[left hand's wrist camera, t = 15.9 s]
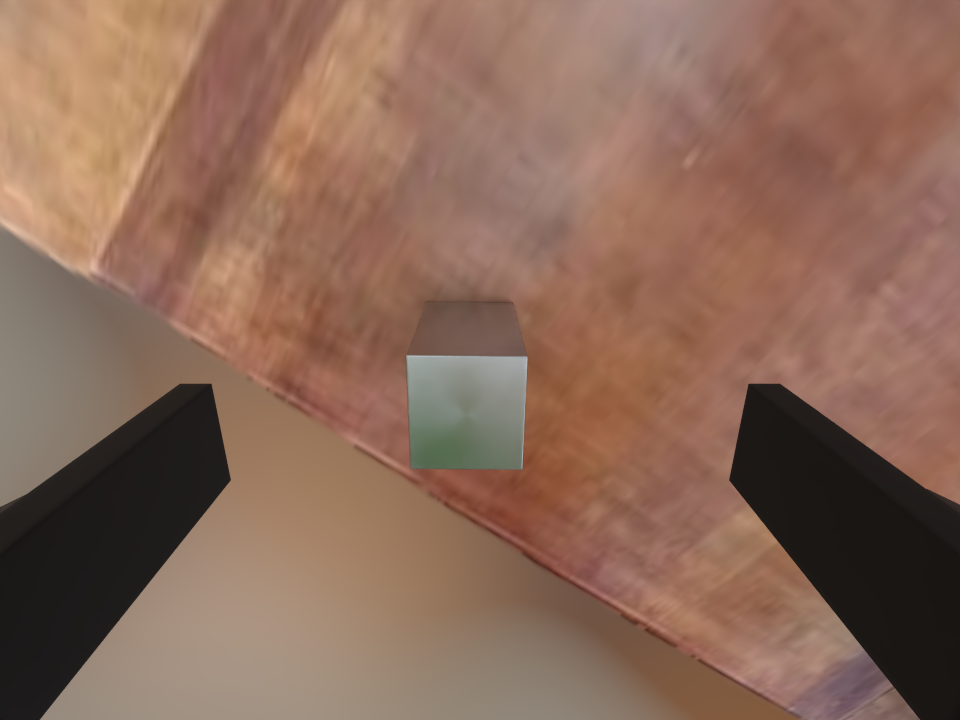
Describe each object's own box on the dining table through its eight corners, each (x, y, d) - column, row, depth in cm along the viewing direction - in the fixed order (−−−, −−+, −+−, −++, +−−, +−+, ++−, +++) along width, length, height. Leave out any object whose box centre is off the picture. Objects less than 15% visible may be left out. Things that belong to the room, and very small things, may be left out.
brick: (513, 302, 31) (528, 356, 22) (510, 388, 33) (522, 470, 24) (426, 301, 31) (405, 355, 22) (428, 387, 33) (410, 469, 24)
